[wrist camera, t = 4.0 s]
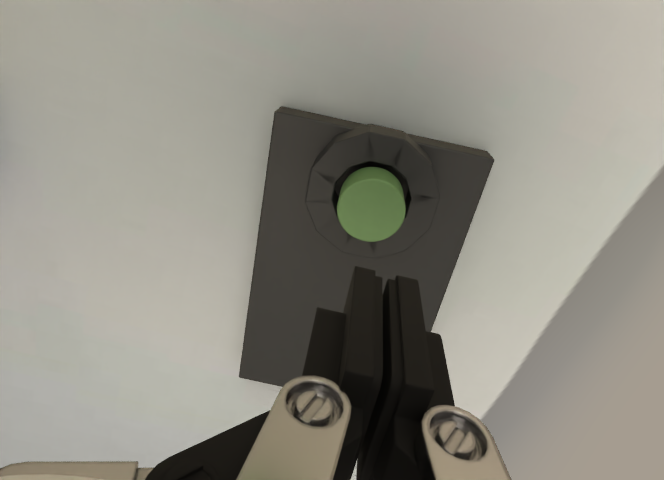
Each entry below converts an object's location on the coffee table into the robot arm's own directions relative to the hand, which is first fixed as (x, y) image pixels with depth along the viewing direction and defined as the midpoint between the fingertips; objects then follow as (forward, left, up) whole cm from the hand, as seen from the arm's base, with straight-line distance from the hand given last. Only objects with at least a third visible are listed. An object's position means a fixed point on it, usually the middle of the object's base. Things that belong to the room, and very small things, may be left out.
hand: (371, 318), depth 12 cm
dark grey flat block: (+5, 0, -12) cm, 13 cm away
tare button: (0, 0, -9) cm, 9 cm away
